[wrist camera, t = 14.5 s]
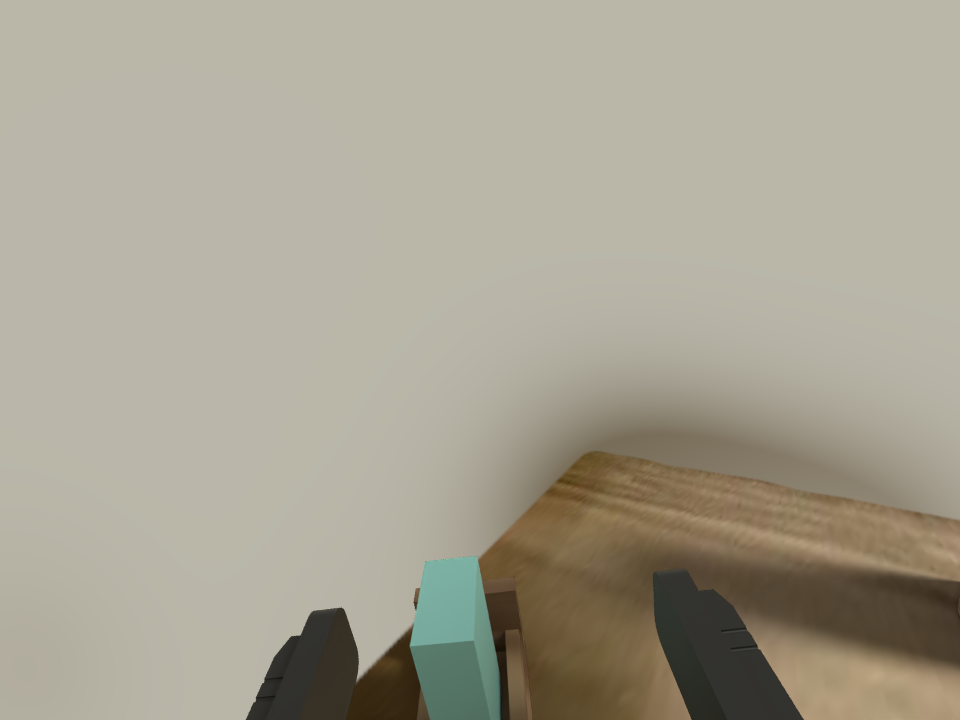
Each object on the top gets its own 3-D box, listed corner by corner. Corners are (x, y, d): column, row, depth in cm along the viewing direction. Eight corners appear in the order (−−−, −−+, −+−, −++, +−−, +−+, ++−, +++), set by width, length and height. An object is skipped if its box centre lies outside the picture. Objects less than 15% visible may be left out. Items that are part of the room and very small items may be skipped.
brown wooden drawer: (432, 652, 44) (416, 588, 41) (524, 641, 44) (514, 576, 41) (401, 936, 27) (370, 858, 24) (552, 924, 27) (537, 843, 24)
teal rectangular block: (456, 689, 39) (425, 561, 35) (502, 685, 39) (476, 555, 34) (449, 788, 33) (409, 646, 28) (504, 784, 32) (473, 640, 28)
